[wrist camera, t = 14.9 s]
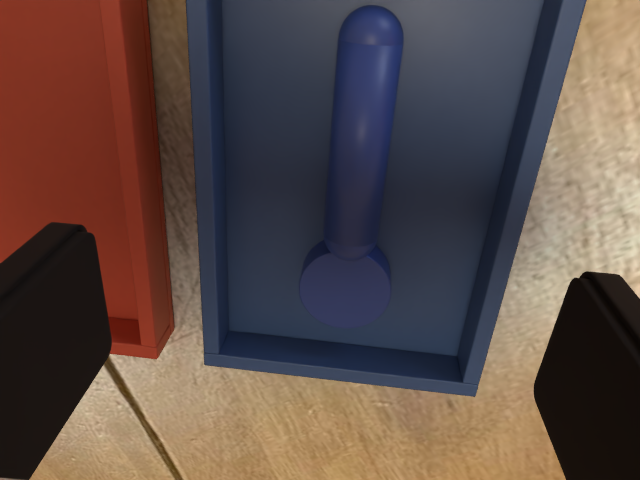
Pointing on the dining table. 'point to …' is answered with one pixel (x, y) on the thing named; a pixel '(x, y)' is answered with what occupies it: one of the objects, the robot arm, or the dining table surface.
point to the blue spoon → (356, 175)
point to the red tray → (88, 150)
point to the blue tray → (400, 184)
